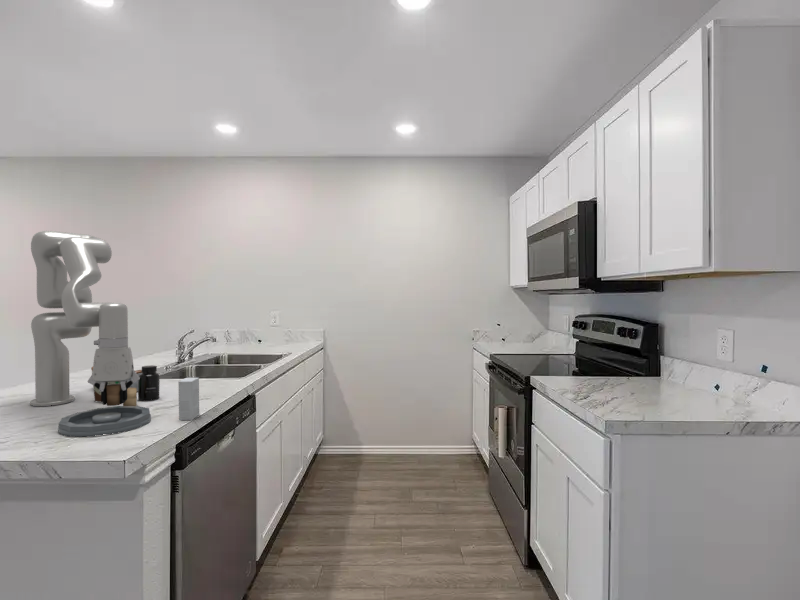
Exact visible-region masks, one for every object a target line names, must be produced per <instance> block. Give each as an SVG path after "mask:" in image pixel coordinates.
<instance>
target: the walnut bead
mask: <svg viewBox="0 0 800 600" xmlns="http://www.w3.org/2000/svg"><path fill="white" fill-rule="evenodd" d="M106 387H107V404H106V406H107V407H115V406H121V405H122V404H121V403H120V391H121V384H109V385H107V386H106Z"/></svg>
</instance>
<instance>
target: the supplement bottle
mask: <svg viewBox="0 0 800 600" xmlns="http://www.w3.org/2000/svg"><path fill="white" fill-rule="evenodd" d="M140 370H141V372H142V374H140V375H139V377H140V379H139V380H138V392H137V399H138V400H139V401H141V402H148V401H155V400H158V399H159V398H160V387H161V386H160V385H161V384H160V380H161V379H160V378H161V377H160V373H157V371H158V370H157V365H154V364H153V365H144V366H141V369H140Z"/></svg>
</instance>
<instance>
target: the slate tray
mask: <svg viewBox="0 0 800 600" xmlns="http://www.w3.org/2000/svg"><path fill="white" fill-rule="evenodd" d="M150 412H151V411H150V408H149V407H144V406H140V405H137V406H123V405H116V406H107V407H106V406H105V407H98V408H92V409H87V410H83V411H78V412H74V413H72V414H69V415H66V416H64V417H62V418H61V419H60V421H59V422H58V428H57V430H58V432H57V433H58V434H59V433H60V434H59V435H61V434H62V435H61V436H64V435H65V437H70V436H75V437H74V438H83V437H82V436H93V437H96V436H95V435H103V434H110V435H113V434H112V433H116V434H119V433H118V432H121V433H125V432H128V431H133V430H136V429H139V428H141V427H144V426H146V425H148V424H149V423H150V422H151V421H152V415H151V413H150ZM124 431H125V432H124ZM76 436H78V437H76ZM103 436H104V435H103Z"/></svg>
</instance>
